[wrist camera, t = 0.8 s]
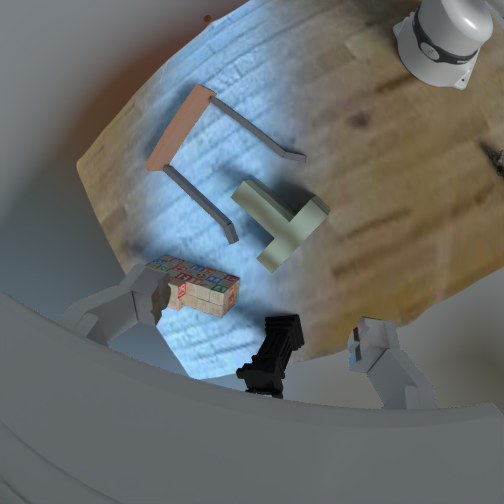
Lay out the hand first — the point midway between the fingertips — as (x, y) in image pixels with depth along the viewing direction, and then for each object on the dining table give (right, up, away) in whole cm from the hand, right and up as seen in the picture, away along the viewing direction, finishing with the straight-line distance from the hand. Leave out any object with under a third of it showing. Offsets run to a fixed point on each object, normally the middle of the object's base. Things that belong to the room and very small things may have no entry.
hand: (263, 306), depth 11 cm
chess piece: (+8, -16, +53) cm, 56 cm away
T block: (+5, +11, +45) cm, 46 cm away
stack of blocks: (-13, -4, +56) cm, 58 cm away
